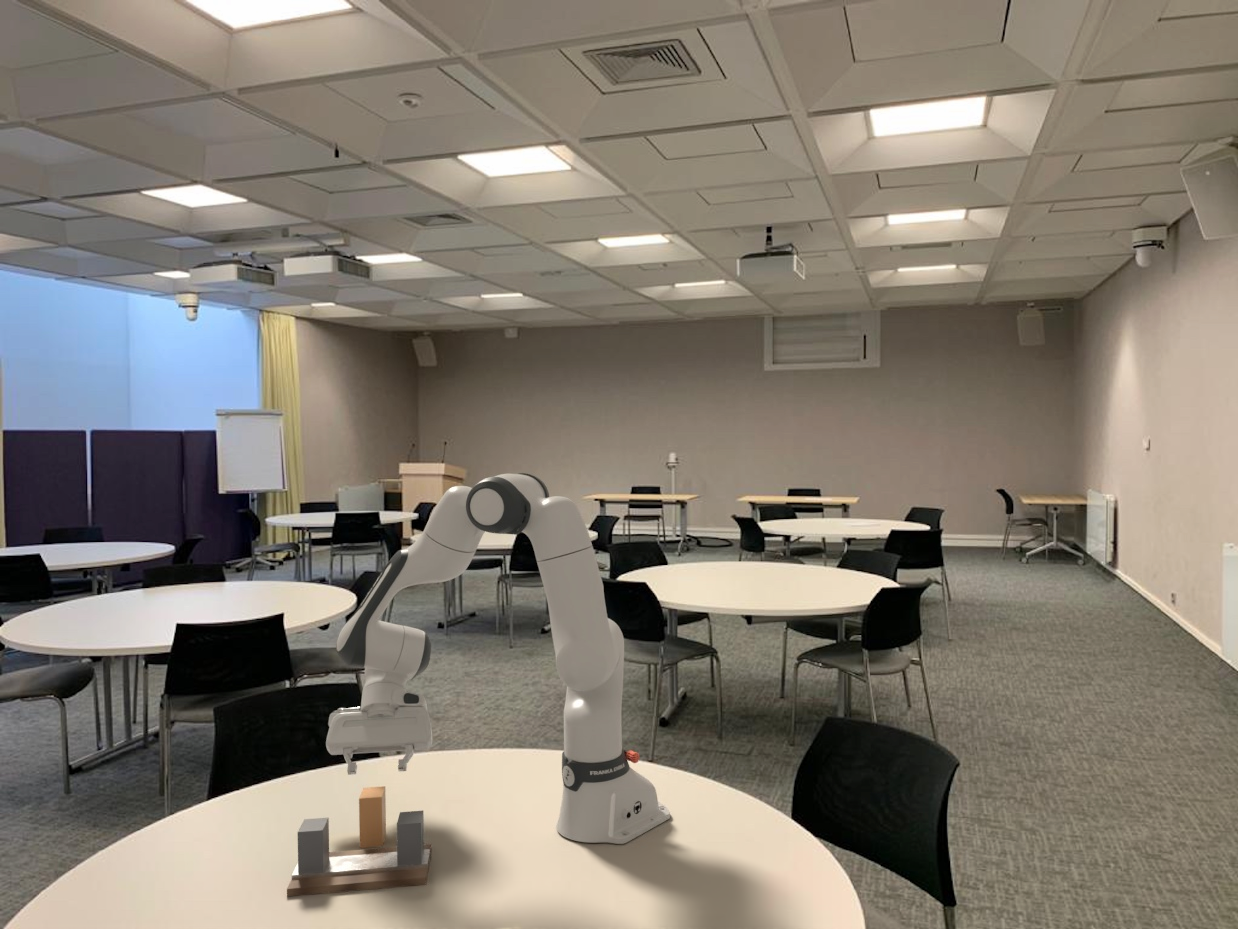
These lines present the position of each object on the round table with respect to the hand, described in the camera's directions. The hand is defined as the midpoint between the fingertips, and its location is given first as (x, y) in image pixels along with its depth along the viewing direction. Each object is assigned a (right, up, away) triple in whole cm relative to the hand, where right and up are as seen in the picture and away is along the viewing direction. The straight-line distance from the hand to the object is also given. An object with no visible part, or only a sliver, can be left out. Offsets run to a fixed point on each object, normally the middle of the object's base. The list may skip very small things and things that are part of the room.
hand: (377, 771), depth 161 cm
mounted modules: (+3, -9, -18) cm, 20 cm away
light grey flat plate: (+3, -9, -18) cm, 21 cm away
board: (+3, -10, -18) cm, 21 cm away
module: (+1, -10, -6) cm, 12 cm away
